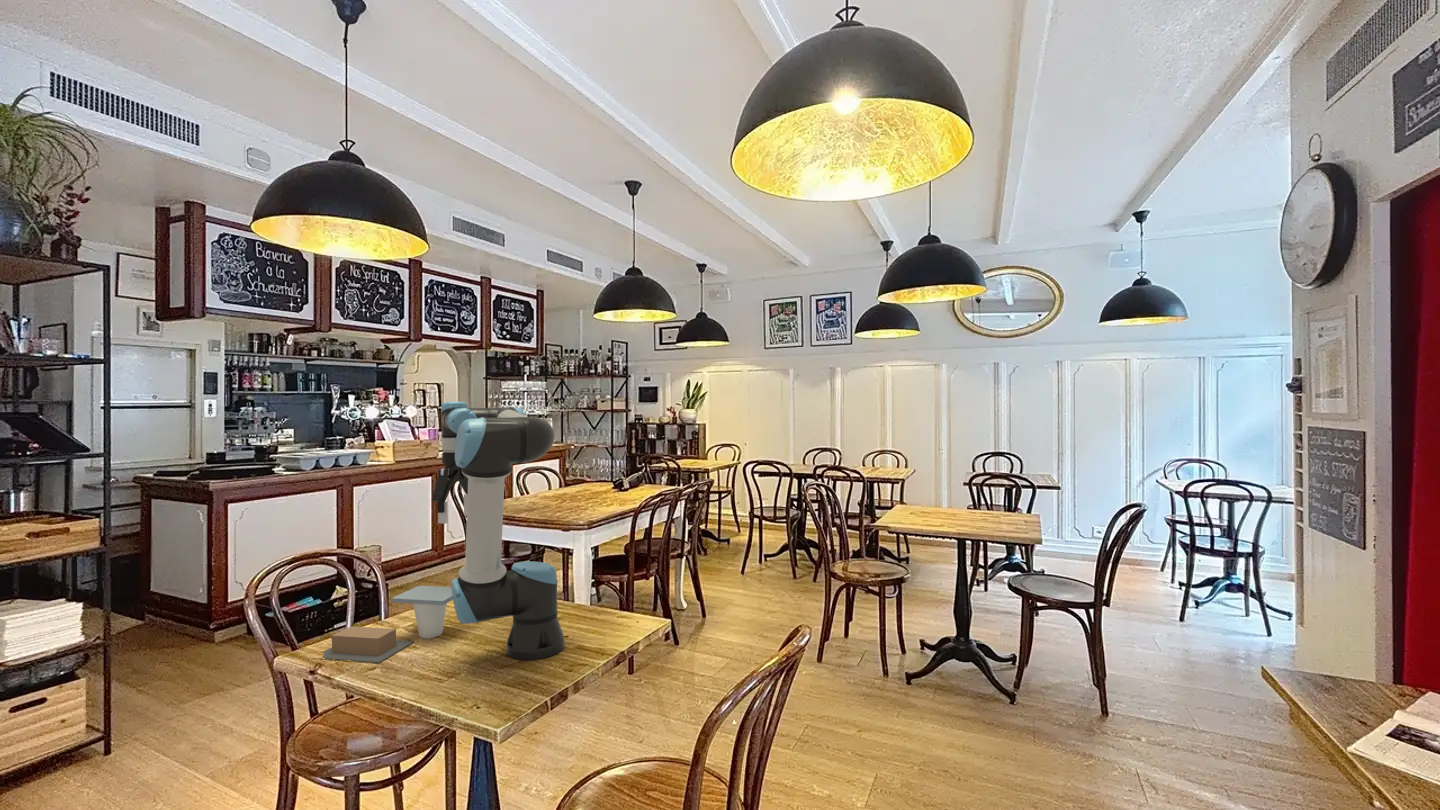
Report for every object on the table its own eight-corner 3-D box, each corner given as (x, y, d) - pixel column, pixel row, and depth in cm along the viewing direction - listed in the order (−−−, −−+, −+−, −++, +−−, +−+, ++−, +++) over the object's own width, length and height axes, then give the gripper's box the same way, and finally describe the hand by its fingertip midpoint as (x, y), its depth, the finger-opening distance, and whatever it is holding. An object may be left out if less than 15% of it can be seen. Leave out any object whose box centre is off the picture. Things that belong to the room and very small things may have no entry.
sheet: (467, 592, 187) (467, 588, 187) (442, 605, 176) (442, 601, 176) (418, 589, 190) (418, 585, 190) (391, 602, 178) (391, 598, 178)
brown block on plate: (414, 642, 177) (414, 624, 177) (379, 663, 163) (378, 644, 163) (351, 638, 181) (351, 621, 181) (311, 658, 167) (311, 639, 167)
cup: (439, 641, 178) (439, 602, 178) (405, 641, 178) (404, 602, 178) (455, 628, 188) (454, 591, 188) (422, 628, 188) (421, 591, 188)
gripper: (466, 447, 210) (467, 511, 210) (418, 454, 185) (419, 526, 186) (487, 447, 209) (488, 511, 209) (441, 454, 184) (443, 527, 185)
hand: (456, 519), depth 197 cm, fingers open, 13 cm apart
